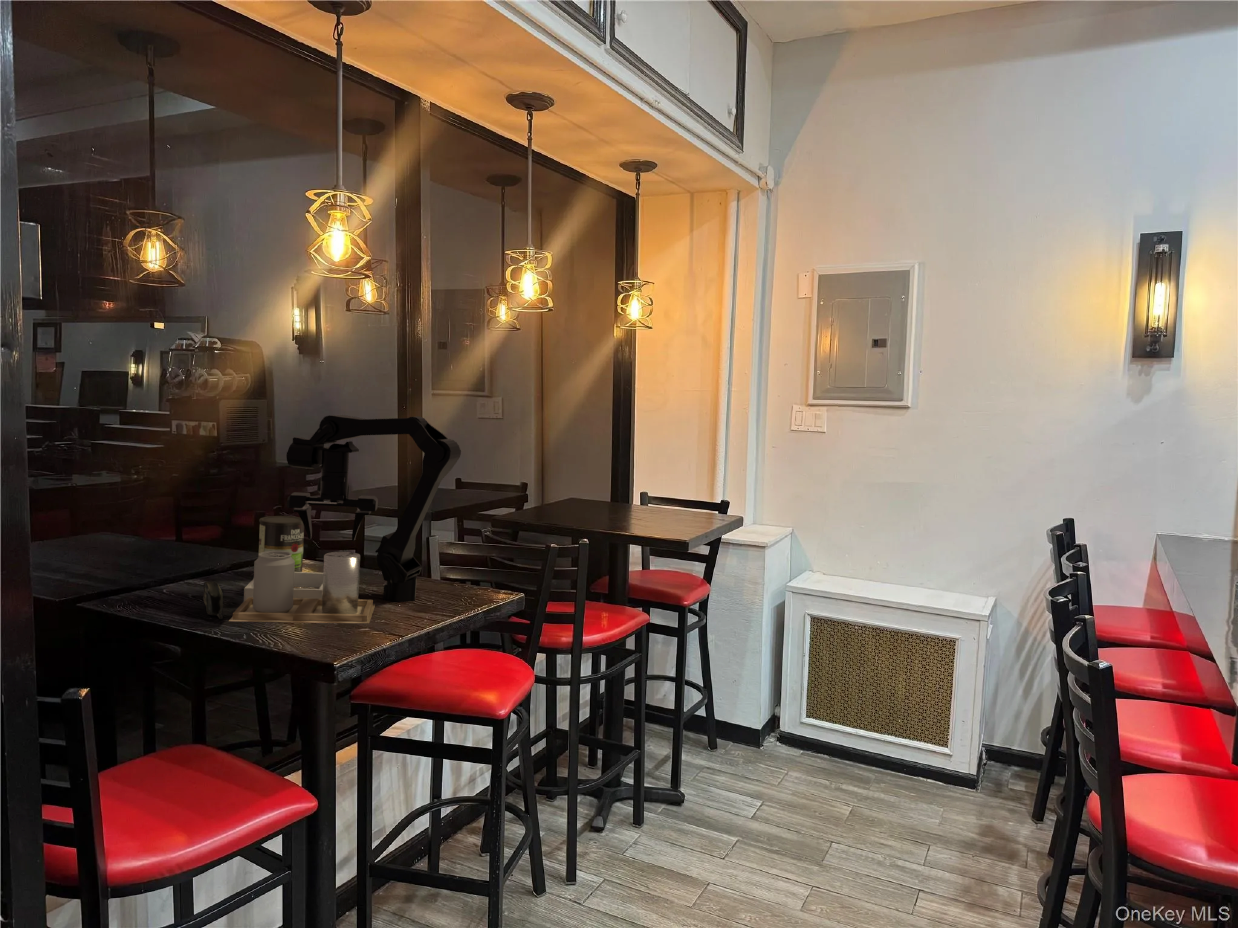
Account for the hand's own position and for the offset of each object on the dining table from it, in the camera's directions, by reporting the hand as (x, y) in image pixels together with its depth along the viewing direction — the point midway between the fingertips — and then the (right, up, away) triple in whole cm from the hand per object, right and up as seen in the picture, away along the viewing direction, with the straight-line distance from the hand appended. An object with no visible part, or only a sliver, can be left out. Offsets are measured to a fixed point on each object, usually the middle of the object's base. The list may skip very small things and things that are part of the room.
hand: (331, 539), depth 182 cm
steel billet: (+7, -14, -16) cm, 22 cm away
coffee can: (-18, -11, +16) cm, 26 cm away
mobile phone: (-19, -13, -15) cm, 28 cm away
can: (-5, -13, -18) cm, 23 cm away
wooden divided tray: (+1, -15, -17) cm, 22 cm away
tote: (-8, -13, -2) cm, 15 cm away
